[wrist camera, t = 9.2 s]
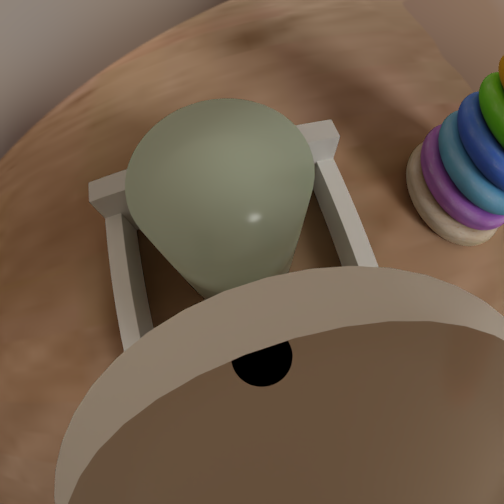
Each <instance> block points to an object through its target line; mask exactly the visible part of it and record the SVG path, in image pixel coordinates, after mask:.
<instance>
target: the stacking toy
mask: <svg viewBox="0 0 504 504" xmlns="http://www.w3.org/2000/svg"><path fill="white" fill-rule="evenodd" d="M406 181H407V187H408V191H409V194H410V197H411V200H412V202H413V204H414V206H415V208H416V210H417V212H418V213H419V215H420V216H421V218H422V219H423V220H424V221H425V223H426V224H427V225H428V226H429V227H430V228H431V229H432V230H433V231H434V232H435V233H437V234H438V235H439V236H441V237H442V238H444V239H446V240H447V241H450V242H452V243H455V244H458V245H462V246H475V245H480V244H482V243H484V242H486V241H487V240H489V239H490V238H491V237H492V236H493V235H494V234H495V232H496V231H497V229H498V227H499V226H501V225H502V224H504V56H503V57H502V58H501V60H500V62H499V72H495V73H492V74H490V75H488V76H487V77H486V78H485V79H484V80H483V82H482V84H481V86H480V90H479V92H474V93H472V94H470V95H468V96H467V97H466V98H465V99H464V100H463V101H462V103H461V105H460V107H459V110H458V111H455V112H453V113H451V114H450V115H449V116H448V117H447V118H446V119H445V120H444V122H443V123H442V124H441V125H438V126H436V127H435V128H433V129H432V130H431V131H430V132H429V133H428V135H427V136H426V138H425V140H424V142H422V143H421V144H420V145H418V146H417V147H416V148H415V149H414V151H413V152H412V154H411V156H410V158H409V160H408V164H407V169H406Z"/></svg>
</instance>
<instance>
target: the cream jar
mask: <svg viewBox="0 0 504 504" xmlns="http://www.w3.org/2000/svg"><path fill="white" fill-rule="evenodd" d="M54 499H55V504H504V316H502V315H501V314H500V313H499V312H497V311H496V310H495V309H494V308H492V307H491V306H490V305H489V304H487V303H486V302H485V301H483V300H481V299H480V298H478V297H476V296H474V295H473V294H471V293H469V292H467V291H465V290H463V289H462V288H460V287H458V286H455V285H453V284H450V283H447V282H444V281H442V280H439V279H436V278H433V277H431V276H428V275H424V274H419V273H414V272H409V271H404V270H399V269H394V268H382V267H365V266H342V267H329V268H315V269H307V270H302V271H297V272H292V273H287V274H281V275H276V276H271V277H266V278H263V279H260V280H257V281H254V282H251V283H248V284H245V285H242V286H239V287H236V288H232V289H229V290H226V291H223V292H221V293H219V294H217V295H215V296H213V297H211V298H208V299H206V300H204V301H202V302H200V303H198V304H195V305H193V306H191V307H189V308H187V309H184V310H183V311H181V312H180V313H178V314H176V315H175V316H173V317H172V318H170V319H168V320H167V321H165V322H163V323H162V324H160V325H159V326H157V327H155V328H154V329H152V330H151V331H149V332H147V333H146V334H145V335H144V336H143V337H141V338H140V339H139V340H138V341H137V342H135V343H134V344H133V345H132V346H131V347H129V348H128V349H127V350H126V351H125V352H123V353H122V354H121V355H120V356H119V357H117V358H116V359H115V360H114V362H113V363H112V364H111V365H110V366H109V367H108V368H107V369H106V370H105V372H104V373H103V374H102V375H101V376H100V377H99V378H98V379H97V380H96V382H95V383H94V384H93V385H92V386H91V388H90V389H89V391H88V393H87V394H86V396H85V397H84V399H83V400H82V402H81V403H80V405H79V406H78V408H77V410H76V411H75V413H74V415H73V417H72V419H71V422H70V424H69V426H68V429H67V431H66V433H65V436H64V438H63V440H62V444H61V448H60V452H59V456H58V461H57V465H56V470H55V491H54Z"/></svg>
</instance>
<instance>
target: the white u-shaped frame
mask: <svg viewBox="0 0 504 504" xmlns="http://www.w3.org/2000/svg"><path fill="white" fill-rule="evenodd" d="M296 127H297V128H298V129H299V130H300V132H301V133H302V134H303V136H304V137H305V139H306V141H307V143H308V145H309V147H310V150H311V153H312V156H313V161H314V168H315V178H314V186H313V190H314V193H315V195H316V198H317V200H318V203H319V206H320V208H321V211H322V213H323V216H324V218H325V221H326V224H327V226H328V229H329V232H330V234H331V237H332V240H333V243H334V245H335V248H336V251H337V254H338V256H339V259H340V262H341V265H342V266H365V267H378V264H377V262H376V259H375V256H374V254H373V251H372V248H371V246H370V243H369V241H368V238H367V235H366V233H365V230H364V228H363V225H362V223H361V220H360V218H359V216H358V213H357V211H356V208H355V206H354V204H353V201H352V199H351V197H350V194H349V192H348V190H347V187H346V185H345V183H344V181H343V178H342V176H341V174H340V172H339V170H338V167H337V165H336V163H335V161H334V159H333V157H334V154H335V151H336V148H337V145H338V142H339V138H340V135H339V133H338V132H337V130H336V128H335V126H334V124H333V122H332V120H324V121H318V122H313V123H307V124H301V125H296ZM126 172H127V169H126V170H123V171H120V172H117V173H114V174H111V175H108V176H105V177H103V178H100V179H97V180H94V181H92V182H89V203H90V204H91V205H92V206H93V207H94V208H95V209H96V210H97V211H98V212H99V213H100V214H101V215H102V216H103V217H104V218H105V224H106V235H107V245H108V254H109V263H110V271H111V279H112V286H113V293H114V299H115V306H116V312H117V317H118V323H119V329H120V334H121V339H122V344H123V349H124V352H125V351H126V350H127V349H128V348H129V347H131V346H132V345H133V344H134V343H135V342H137V341H138V340H139V339H140V338H141V337H143V336H144V335H145V334H146V333H147V332H149V331H151V330H152V329H154V328H153V323H152V318H151V314H150V309H149V303H148V298H147V293H146V287H145V282H144V276H143V270H142V264H141V257H140V251H139V244H138V237H137V230H139V229H140V228H139V227H138V226H137V224H136V223H135V221H134V219H133V217H132V215H131V213H130V211H129V208H128V205H127V201H126V195H125V178H126Z"/></svg>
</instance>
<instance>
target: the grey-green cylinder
mask: <svg viewBox="0 0 504 504" xmlns="http://www.w3.org/2000/svg"><path fill="white" fill-rule="evenodd" d="M314 178H315V168H314V161H313V156H312V153H311V150H310V147H309V145H308V143H307V141H306V139H305V137H304V136H303V134H302V133H301V132H300V130H299V129H298V128H297V127H296V126H295V125H294V124H293V123H292V122H291V121H290V120H289V119H287V118H286V117H285V116H284V115H282V114H281V113H279V112H277V111H276V110H274V109H272V108H269V107H267V106H265V105H262V104H259V103H256V102H252V101H248V100H242V99H212V100H207V101H201V102H198V103H194V104H191V105H188V106H186V107H183V108H181V109H179V110H177V111H175V112H173V113H171V114H170V115H168V116H167V117H165V118H164V119H162V120H161V121H159V122H158V123H157V124H156V125H155V126H153V127H152V128H151V129H150V130H149V131H148V132H147V134H146V135H145V136H144V137H143V138H142V140H141V141H140V142H139V144H138V145H137V147H136V149H135V150H134V152H133V154H132V157H131V159H130V161H129V165H128V168H127V172H126V178H125V195H126V201H127V205H128V208H129V211H130V213H131V215H132V217H133V219H134V221H135V223H136V224H137V226H138V227H139V228H140V230H141V231H142V232H143V233H144V234H145V236H146V237H147V238H148V239H149V240H150V241H151V242H152V243H153V245H154V246H155V247H156V248H157V249H158V250H159V251H160V252H161V253H162V255H163V256H164V257H165V258H166V259H167V260H168V261H169V262H170V263H171V264H172V266H173V267H174V268H175V269H176V270H177V271H178V272H179V273H180V274H181V275H182V276H183V277H184V279H185V280H186V281H187V282H188V283H189V284H190V285H191V286H192V287H193V288H194V289H195V290H196V291H197V292H198V293H199V294H200V295H201V296H202V297H203V298H204V299H208V298H211V297H213V296H215V295H217V294H219V293H221V292H223V291H226V290H229V289H232V288H236V287H239V286H242V285H245V284H248V283H251V282H254V281H257V280H260V279H263V278H266V277H271V276H276V275H281V274H287V273H288V272H289V269H290V266H291V263H292V259H293V256H294V253H295V249H296V246H297V243H298V239H299V236H300V232H301V229H302V225H303V222H304V219H305V215H306V212H307V208H308V205H309V201H310V197H311V194H312V190H313V186H314Z"/></svg>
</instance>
